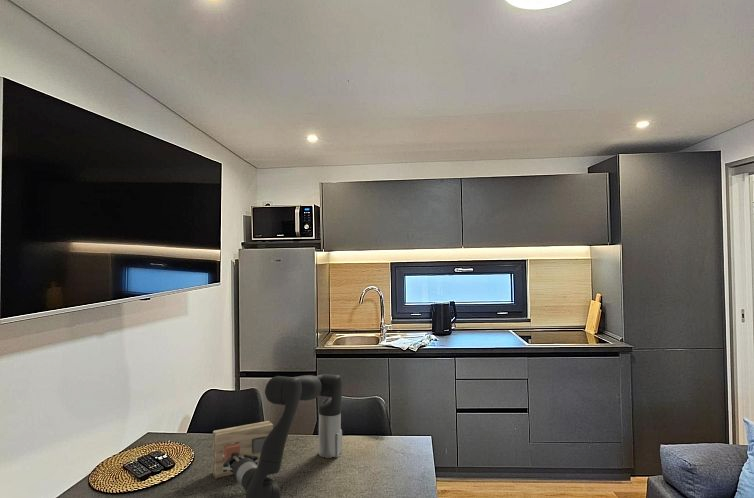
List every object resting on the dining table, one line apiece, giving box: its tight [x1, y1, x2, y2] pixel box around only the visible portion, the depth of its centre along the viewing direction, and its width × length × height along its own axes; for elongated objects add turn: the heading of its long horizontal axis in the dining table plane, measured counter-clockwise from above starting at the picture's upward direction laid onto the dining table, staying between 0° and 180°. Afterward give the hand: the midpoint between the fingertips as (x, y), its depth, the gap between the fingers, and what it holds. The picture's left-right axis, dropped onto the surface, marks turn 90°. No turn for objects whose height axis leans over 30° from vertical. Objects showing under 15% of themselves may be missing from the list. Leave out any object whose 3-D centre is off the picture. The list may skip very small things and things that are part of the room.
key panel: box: [212, 420, 274, 479], centre depth 181 cm, size 5×22×16 cm, turn 122°
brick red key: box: [223, 442, 240, 461], centre depth 174 cm, size 3×5×5 cm, turn 122°
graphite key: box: [252, 436, 266, 454], centre depth 182 cm, size 3×5×5 cm, turn 122°
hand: (234, 455), depth 172 cm, fingers closed
